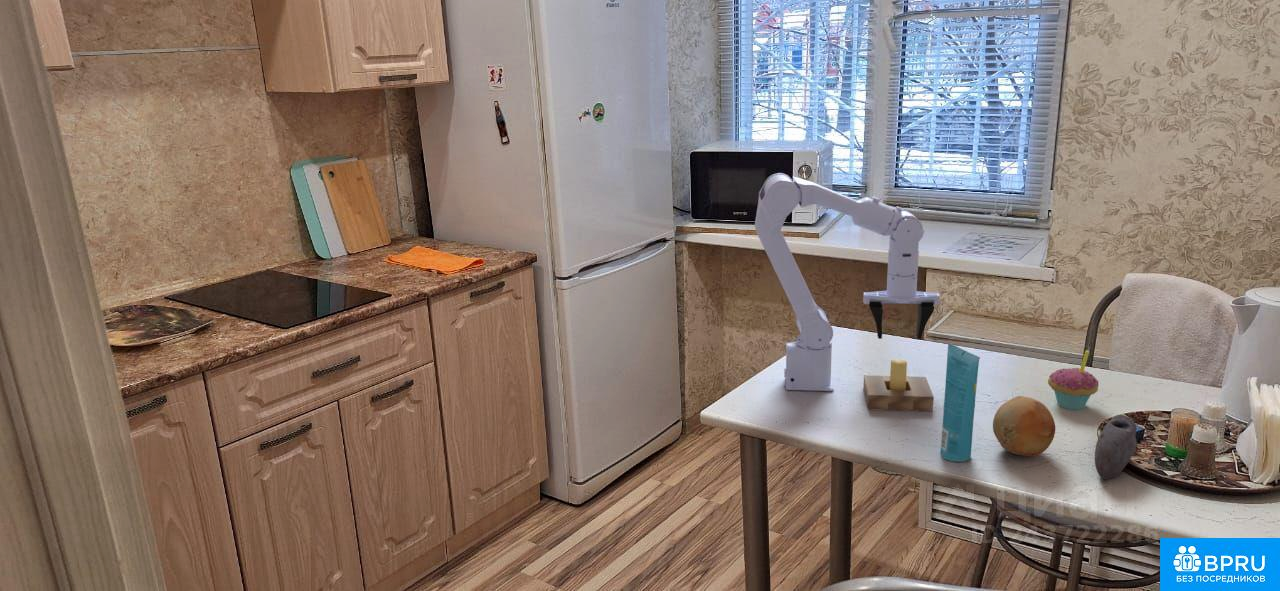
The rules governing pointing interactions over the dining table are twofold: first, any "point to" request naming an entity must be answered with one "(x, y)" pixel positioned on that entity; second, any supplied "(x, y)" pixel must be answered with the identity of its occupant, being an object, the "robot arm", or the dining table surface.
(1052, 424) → the onion
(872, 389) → the socket
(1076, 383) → the cupcake
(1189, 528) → the dining table surface
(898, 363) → the dowel
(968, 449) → the tube
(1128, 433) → the perforated stone tool
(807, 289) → the robot arm
